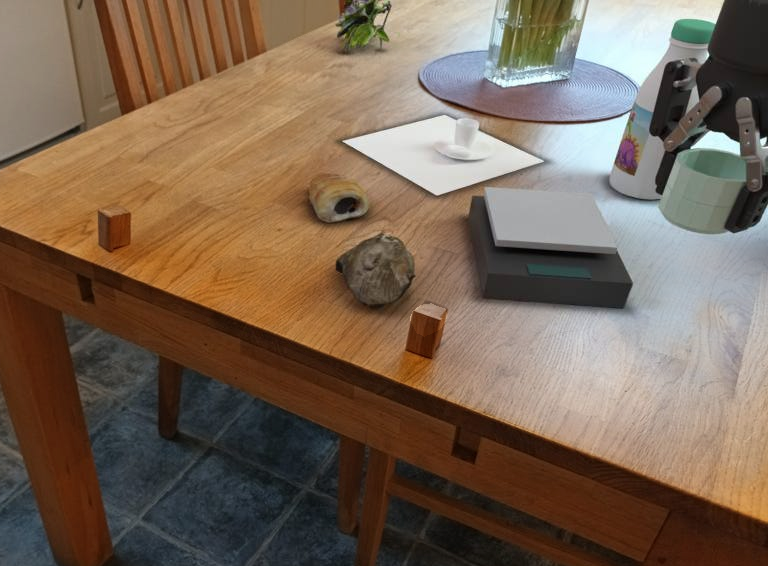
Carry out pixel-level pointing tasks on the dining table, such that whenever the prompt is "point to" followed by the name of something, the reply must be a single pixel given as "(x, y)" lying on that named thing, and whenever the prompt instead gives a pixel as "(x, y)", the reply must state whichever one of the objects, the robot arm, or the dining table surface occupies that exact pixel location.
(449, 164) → the white plastic piece
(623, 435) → the dining table surface
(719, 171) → the cup
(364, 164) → the dining table surface
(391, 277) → the fossilized seashell
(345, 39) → the passion flower
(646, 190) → the milk bottle
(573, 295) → the scale
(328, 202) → the pastry
